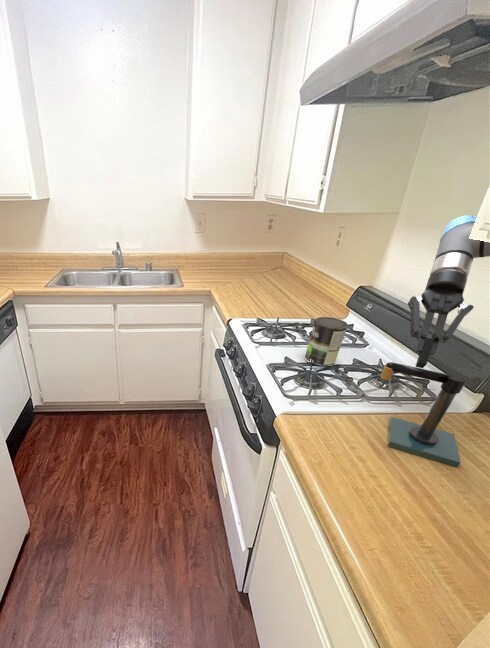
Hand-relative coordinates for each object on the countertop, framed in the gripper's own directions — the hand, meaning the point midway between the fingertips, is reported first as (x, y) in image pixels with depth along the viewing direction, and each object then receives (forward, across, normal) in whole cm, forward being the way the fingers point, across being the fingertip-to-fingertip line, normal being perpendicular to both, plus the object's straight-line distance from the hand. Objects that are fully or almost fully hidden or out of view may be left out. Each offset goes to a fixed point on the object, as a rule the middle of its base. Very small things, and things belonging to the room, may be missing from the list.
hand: (420, 365), depth 81 cm
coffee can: (-8, +23, -33) cm, 41 cm away
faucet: (+16, -6, -9) cm, 19 cm away
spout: (+5, 0, +1) cm, 6 cm away
